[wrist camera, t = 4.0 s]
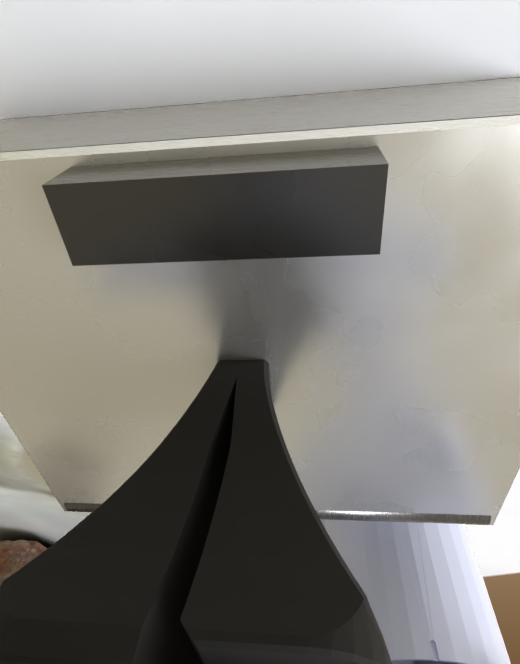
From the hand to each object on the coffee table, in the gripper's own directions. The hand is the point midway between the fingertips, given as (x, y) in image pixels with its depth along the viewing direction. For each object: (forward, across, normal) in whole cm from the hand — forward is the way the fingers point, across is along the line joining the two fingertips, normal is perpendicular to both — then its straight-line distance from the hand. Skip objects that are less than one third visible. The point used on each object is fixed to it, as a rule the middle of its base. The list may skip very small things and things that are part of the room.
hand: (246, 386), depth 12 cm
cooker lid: (+1, 0, 0) cm, 1 cm away
